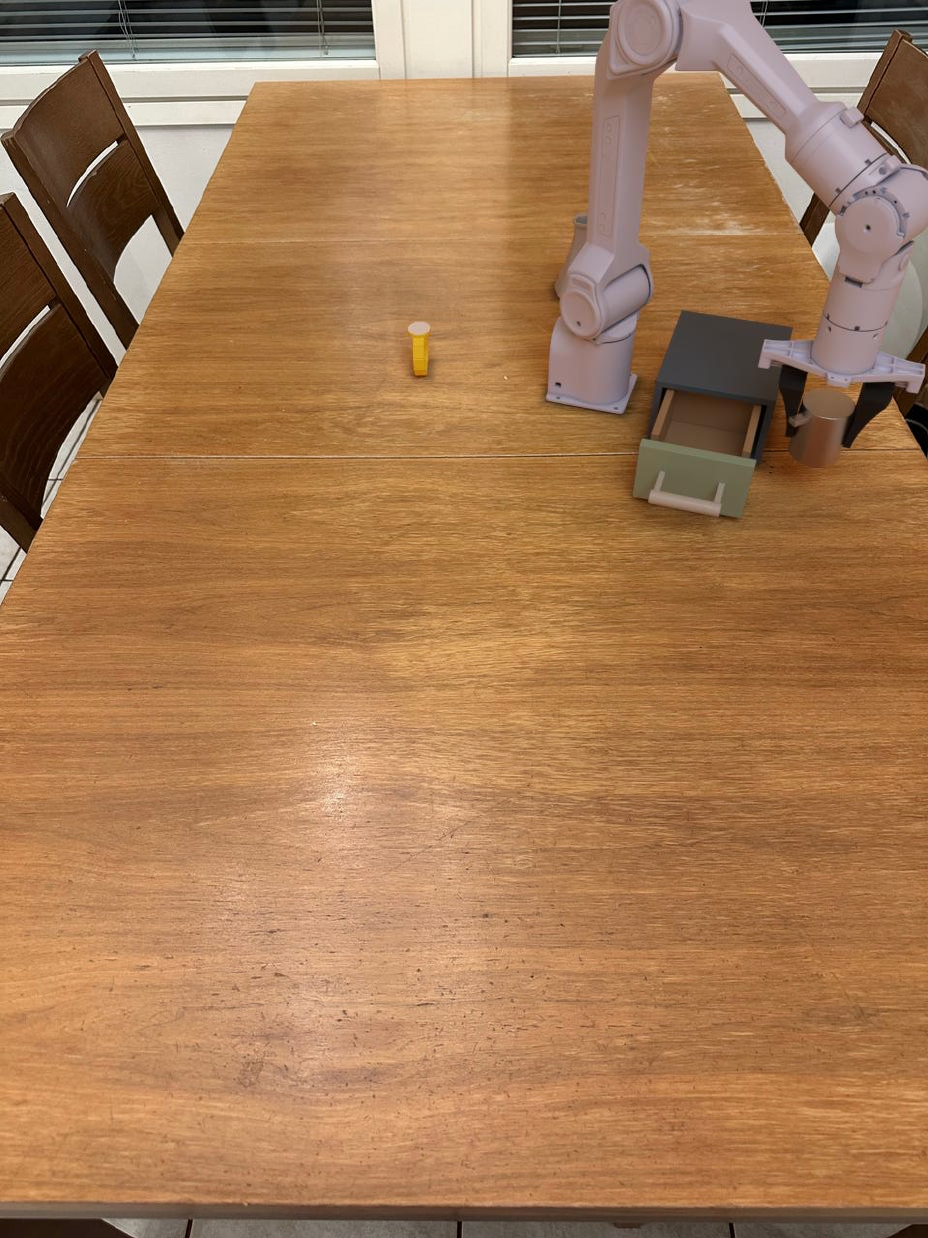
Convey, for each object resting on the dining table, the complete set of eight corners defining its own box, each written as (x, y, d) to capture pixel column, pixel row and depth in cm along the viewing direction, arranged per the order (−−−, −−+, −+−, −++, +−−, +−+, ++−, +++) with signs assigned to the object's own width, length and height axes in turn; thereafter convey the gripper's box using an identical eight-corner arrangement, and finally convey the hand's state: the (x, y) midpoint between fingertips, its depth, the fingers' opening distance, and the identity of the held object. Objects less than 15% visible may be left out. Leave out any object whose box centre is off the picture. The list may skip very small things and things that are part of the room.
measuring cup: (816, 431, 98) (832, 382, 94) (849, 458, 95) (866, 409, 91) (764, 450, 97) (777, 401, 92) (795, 478, 94) (810, 429, 89)
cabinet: (759, 465, 104) (776, 400, 98) (646, 444, 107) (655, 379, 101) (776, 390, 113) (793, 326, 107) (671, 373, 116) (681, 309, 110)
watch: (412, 355, 120) (409, 313, 116) (434, 355, 120) (432, 313, 115) (409, 383, 116) (405, 340, 112) (431, 383, 116) (428, 340, 112)
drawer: (734, 547, 94) (748, 496, 89) (622, 524, 97) (629, 472, 92) (759, 440, 106) (772, 389, 100) (658, 421, 108) (666, 370, 103)
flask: (603, 306, 127) (610, 233, 119) (550, 301, 128) (553, 229, 120) (609, 278, 131) (616, 207, 124) (557, 274, 132) (561, 203, 125)
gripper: (767, 324, 84) (738, 446, 94) (941, 351, 80) (891, 475, 91) (777, 285, 88) (748, 406, 98) (942, 309, 85) (895, 431, 95)
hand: (817, 436), depth 95 cm, fingers closed on measuring cup, 5 cm apart
